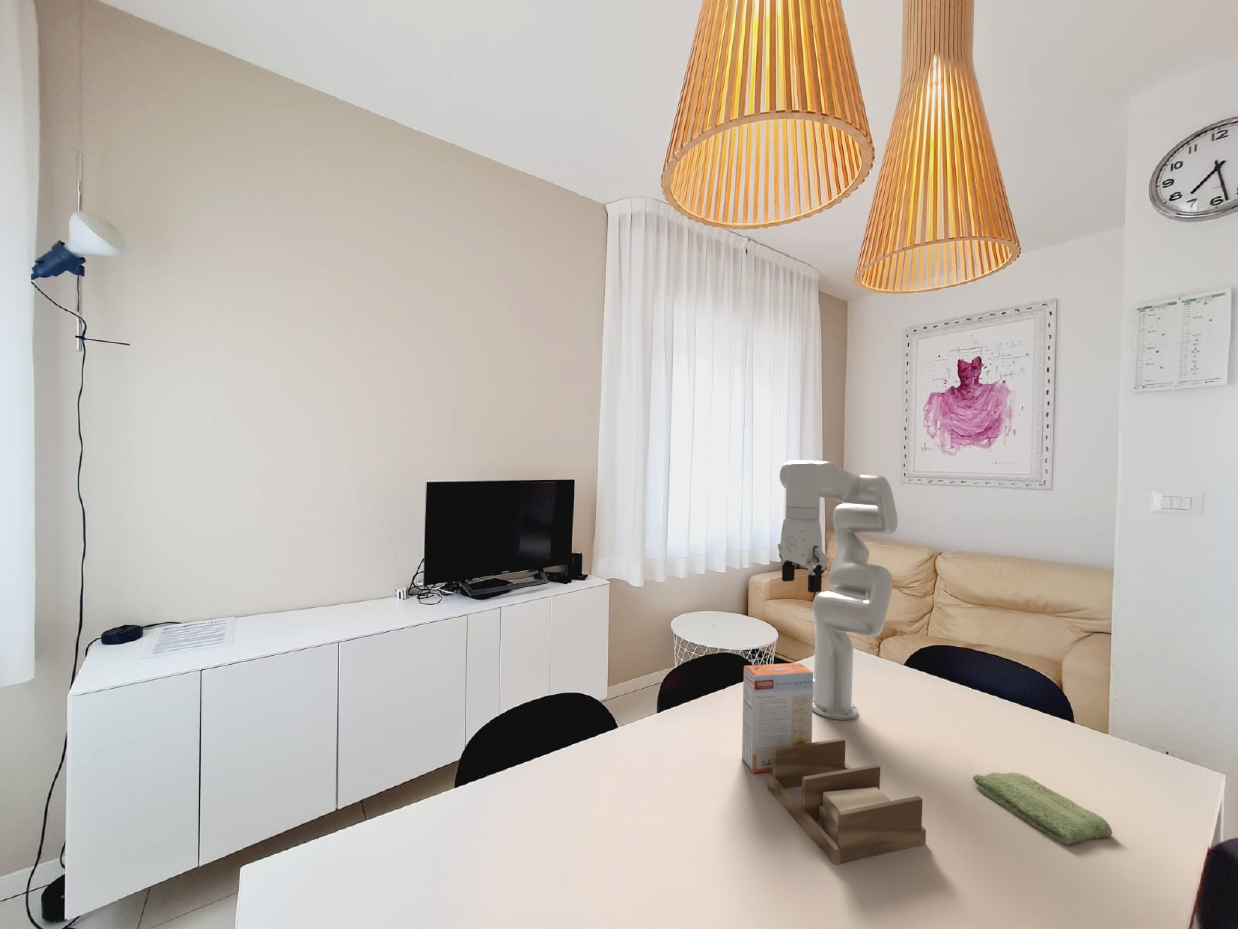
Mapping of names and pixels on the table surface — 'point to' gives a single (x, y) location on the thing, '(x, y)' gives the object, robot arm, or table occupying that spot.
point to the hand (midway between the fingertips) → (800, 586)
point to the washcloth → (1043, 807)
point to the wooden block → (846, 805)
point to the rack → (857, 827)
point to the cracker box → (775, 711)
